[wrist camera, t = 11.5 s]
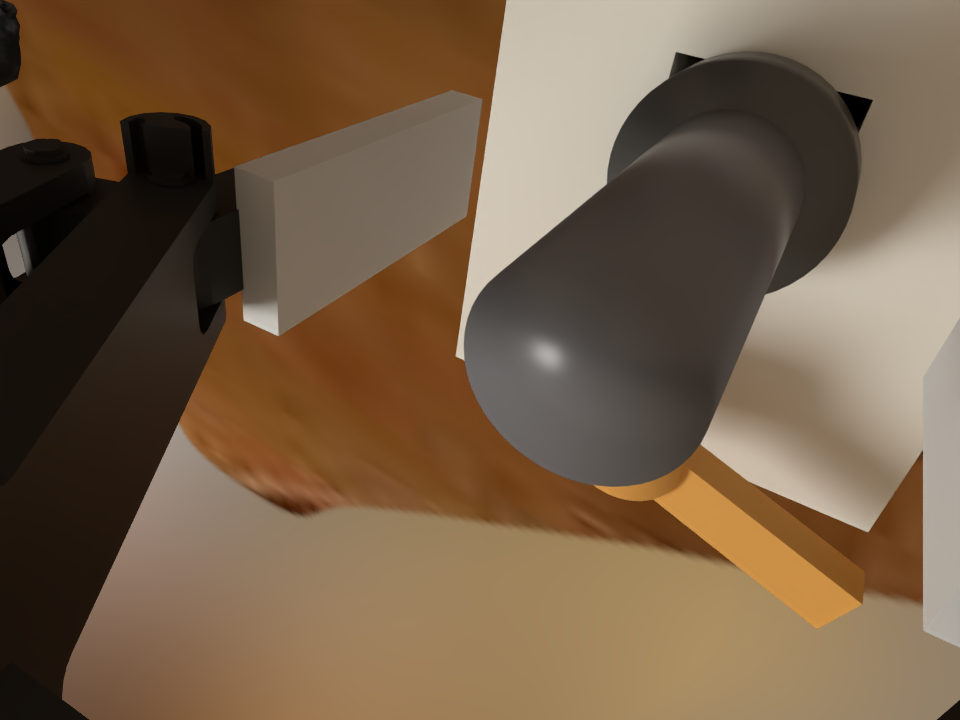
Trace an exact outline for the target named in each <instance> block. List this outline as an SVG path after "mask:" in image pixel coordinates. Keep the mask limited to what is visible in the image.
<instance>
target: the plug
mask: <svg viewBox="0 0 960 720" xmlns="http://www.w3.org/2000/svg"><path fill="white" fill-rule="evenodd" d="M861 161H862V159H861V144H860V140H859V135H858V131H857V127H856V125H855V122H854V119H853V117H852V114H851V112H850V111H849V109H848V107H847V105H846V104H845V102H844V100H843V99H842V97H841V96H840V95H839V94H838V92H837V91H836V90H835V89H834V88H833V86H832V85H830V84H829V83H828V82H827V81H826V80H825V79H824V78H823V77H822V76H821V75H819V74H818V73H816V72H815V71H813V70H812V69H810V68H809V67H807V66H805V65H803V64H801V63H799V62H797V61H795V60H792V59H790V58H786V57H783V56H780V55H777V54H771V53H765V52H749V51H742V52H733V53H725V54H721V55H717V56H713V57H710V58H707V59H705V60H702V61H700V62H697V63H695V64H693V65H691V66H689V67H688V68H686V69H684V70H682V71H680V72H679V73H677V74H675V75H674V76H672V77H671V78H669V79H667V80H666V81H664V82H663V83H661V84H660V85H659V86H657V87H656V88H655V89H653V90H652V91H651V92H650V93H648V94H647V95H646V96H645V97H644V98H643V99H642V100H641V101H640V102H639V103H638V104H637V106H636V107H635V108H634V109H633V110H632V112H631V113H630V114H629V116H628V117H627V119H626V120H625V122H624V124H623V125H622V127H621V129H620V131H619V133H618V135H617V137H616V140H615V142H614V145H613V148H612V151H611V155H610V159H609V165H608V170H607V184H606V185H605V186H604V187H603V188H601V189H600V190H599V191H598V192H597V193H595V194H594V195H593V196H592V197H591V198H589V199H588V200H587V201H586V202H585V203H583V204H582V205H581V206H580V207H578V208H577V209H576V210H575V211H574V212H572V213H571V214H570V215H569V216H568V217H566V218H565V219H564V220H563V221H561V222H560V223H559V224H558V225H557V226H555V227H554V228H553V229H552V230H551V231H549V232H548V233H547V234H546V235H544V236H543V237H542V238H541V239H540V240H538V241H537V242H536V243H535V244H534V245H532V246H531V247H530V248H529V249H528V250H526V251H525V252H524V253H523V254H521V255H520V256H519V257H518V258H517V259H515V260H514V261H513V262H512V263H511V264H509V265H508V266H507V267H506V268H504V269H503V270H502V271H501V272H500V273H498V274H497V275H496V276H495V277H494V278H493V279H492V280H491V281H489V282H488V283H487V285H486V286H485V287H484V288H483V290H482V291H481V292H480V293H479V295H478V297H477V298H476V300H475V302H474V303H473V305H472V308H471V310H470V313H469V316H468V318H467V323H466V327H465V333H464V360H465V365H466V370H467V375H468V378H469V381H470V384H471V387H472V390H473V392H474V394H475V396H476V399H477V401H478V403H479V404H480V406H481V408H482V410H483V411H484V413H485V415H486V416H487V417H488V419H489V420H490V422H491V423H492V424H493V426H494V427H495V428H496V429H497V430H498V431H499V433H500V434H501V435H502V436H503V437H504V438H505V439H506V440H507V441H508V442H509V443H510V444H511V445H512V446H513V447H514V448H516V449H517V450H518V451H519V452H521V453H522V454H523V455H524V456H526V457H527V458H529V459H530V460H532V461H533V462H535V463H536V464H538V465H539V466H541V467H543V468H545V469H547V470H549V471H551V472H553V473H555V474H558V475H560V476H563V477H565V478H568V479H571V480H574V481H578V482H581V483H585V484H591V485H596V486H608V487H622V486H632V485H638V484H643V483H647V482H650V481H653V480H656V479H658V478H661V477H663V476H665V475H667V474H669V473H671V472H672V471H674V470H675V469H677V468H678V467H680V466H681V465H682V464H683V463H684V462H685V461H686V460H687V459H689V458H690V457H691V456H692V454H693V453H694V452H695V451H696V449H697V448H698V447H699V445H700V444H701V442H702V440H703V438H704V436H705V434H706V432H707V431H708V428H709V426H710V423H711V421H712V419H713V416H714V414H715V412H716V409H717V407H718V405H719V402H720V400H721V398H722V395H723V393H724V391H725V388H726V386H727V383H728V381H729V379H730V376H731V374H732V372H733V369H734V367H735V365H736V362H737V360H738V358H739V355H740V353H741V351H742V348H743V346H744V344H745V341H746V339H747V336H748V334H749V332H750V329H751V327H752V325H753V322H754V320H755V318H756V315H757V313H758V311H759V308H760V306H761V304H762V301H763V299H764V297H765V295H766V294H769V293H772V292H775V291H778V290H780V289H782V288H784V287H786V286H789V285H791V284H792V283H794V282H796V281H797V280H799V279H801V278H802V277H804V276H805V275H806V274H808V273H809V272H810V271H811V270H813V269H814V268H815V267H816V266H817V265H818V264H819V263H820V262H821V261H822V260H823V259H824V258H825V257H826V256H827V255H828V254H829V253H830V251H831V250H832V249H833V247H834V246H835V245H836V243H837V242H838V240H839V238H840V237H841V235H842V233H843V231H844V229H845V228H846V225H847V223H848V220H849V217H850V215H851V212H852V209H853V205H854V201H855V197H856V193H857V189H858V184H859V180H860V174H861Z"/></svg>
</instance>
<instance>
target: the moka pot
mask: <svg viewBox="0 0 960 720" xmlns="http://www.w3.org/2000/svg"><path fill="white" fill-rule="evenodd" d="M16 14H17V9H16V8H15V6H14V5H13V4H11V3H9V2H6V1H3V0H0V87H1V86H4V85H6V84H8V83H10V82H12V81H14V80H16V79H18V75H19V70H20V66H21V53H20V46H19V38H20V37H19V29H20V25H19V22H18V20H17V18H16Z"/></svg>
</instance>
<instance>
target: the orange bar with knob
mask: <svg viewBox="0 0 960 720" xmlns="http://www.w3.org/2000/svg"><path fill="white" fill-rule="evenodd" d="M594 486H596V485H594ZM596 487H597V488H598V489H600V490H602V491H603V492H605V493H607V494H609V495H612V496H614V497H617V498H621V499H625V500H631V501H647V500H652V499H653V500H655V501H656V502H657V503H658V504H660V505H661V506H662V507H663V508H665V509H666V510H667V511H668V512H670V513H671V514H672V515H673V516H675V517H676V518H677V519H679V520H680V521H681V522H682V523H684V524H685V525H686V526H687V527H689V528H690V529H691V530H692V531H694V532H695V533H696V534H697V535H699V536H700V537H701V538H702V539H704V540H705V541H706V542H708V543H709V544H710V545H711V546H713V547H714V548H715V549H716V550H718V551H719V552H720V553H721V554H723V555H724V556H725V557H726V558H728V559H729V560H730V561H732V562H733V563H734V564H735V565H737V566H738V567H739V568H740V569H742V570H743V571H744V572H745V573H747V574H748V575H749V576H750V577H752V578H753V579H754V580H755V581H757V582H758V583H759V584H761V585H762V586H763V587H764V588H766V589H767V590H768V591H769V592H771V593H772V594H773V595H774V596H776V597H777V598H778V599H779V600H781V601H782V602H783V603H784V604H786V605H787V606H788V607H790V608H791V609H792V610H793V611H795V612H796V613H797V614H798V615H800V616H801V617H802V618H803V619H805V620H806V621H807V622H808V623H810V624H811V625H812V626H814V627H815V628H816V629H818V628H820V627H822V626H824V625H826V624H827V623H829V622H831V621H833V620H835V619H836V618H838V617H840V616H842V615H844V614H846V613H847V612H849V611H851V610H853V609H855V608H856V607H858V606H860V605H862V602H863V591H864V579H865V572H864V571H863V570H862V569H860V568H859V567H858V566H857V565H855V564H854V563H853V562H851V561H850V560H849V559H848V558H846V557H845V556H844V555H842V554H841V553H840V552H838V551H837V550H836V549H835V548H833V547H832V546H831V545H829V544H828V543H827V542H826V541H824V540H823V539H822V538H820V537H819V536H818V535H817V534H815V533H814V532H813V531H811V530H810V529H809V528H808V527H806V526H805V525H804V524H802V523H801V522H800V521H799V520H797V519H796V518H795V517H793V516H792V515H791V514H790V513H788V512H787V511H786V510H784V509H783V508H782V507H781V506H779V505H778V504H777V503H775V502H774V501H773V500H771V499H770V498H769V497H768V496H766V495H765V494H764V493H762V492H761V491H760V490H759V489H757V488H756V487H755V486H753V485H752V484H751V483H750V482H748V481H747V480H746V479H744V478H743V477H742V476H741V475H739V474H738V473H737V472H735V471H734V470H733V469H732V468H730V467H729V466H728V465H726V464H725V463H724V462H723V461H721V460H720V459H719V458H717V457H716V456H715V455H714V454H712V453H711V452H710V451H708V450H707V449H706V448H704V447H703V446H702V445H701V444H700V445H699V447H698V448H697V449H696V451H695V452H694V453H693V454H692V456H691V457H690V458H689V459H687V460H686V461H685V462H684V463H683V464H682V465H681V466H680V467H678V468H677V469H675V470H674V471H672V472H671V473H669V474H667V475H665V476H663V477H661V478H658V479H656V480H653V481H650V482H647V483H643V484H638V485H632V486H622V487H608V486H596Z"/></svg>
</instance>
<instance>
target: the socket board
mask: <svg viewBox="0 0 960 720" xmlns="http://www.w3.org/2000/svg"><path fill="white" fill-rule="evenodd" d="M742 51H749V52H765V53H771V54H777V55H780V56H783V57H786V58H790V59H792V60H795V61H797V62H799V63H801V64H803V65H805V66H807V67H809V68H810V69H812V70H813V71H815V72H816V73H818V74H819V75H821V76H822V77H823V78H824V79H825V80H826V81H827V82H828V83H829V84H830V85H832V86H833V88H834V89H835V90H836V91H838V92H842V93H846V94H851V95H855V96H859V97H863V98H867V99H869V101H868V103H867V106H866V108H865V110H864V113H863V115H862V117H861V119H860V122H859V124H858V126H857V131H858V135H859V140H860V144H861V159H862V161H861V174H860V180H859V184H858V189H857V193H856V197H855V201H854V205H853V209H852V212H851V215H850V217H849V220H848V223H847V225H846V228H845V229H844V231H843V233H842V235H841V237H840V238H839V240H838V242H837V243H836V245H835V246H834V247H833V249H832V250H831V251H830V253H829V254H828V255H827V256H826V257H825V258H824V259H823V260H822V261H821V262H820V263H819V264H818V265H817V266H816V267H815V268H814V269H813V270H811V271H810V272H809V273H808V274H806V275H805V276H804V277H802V278H801V279H799V280H797V281H796V282H794V283H792V284H791V285H789V286H786V287H784V288H782V289H780V290H778V291H775V292H772V293H769V294H766V295H765V297H764V299H763V301H762V304H761V306H760V308H759V311H758V313H757V315H756V318H755V320H754V322H753V325H752V327H751V329H750V332H749V334H748V336H747V339H746V341H745V344H744V346H743V348H742V351H741V353H740V355H739V358H738V360H737V362H736V365H735V367H734V369H733V372H732V374H731V376H730V379H729V381H728V383H727V386H726V388H725V391H724V393H723V395H722V398H721V400H720V402H719V405H718V407H717V409H716V412H715V414H714V416H713V419H712V421H711V423H710V426H709V428H708V431H707V432H706V434H705V436H704V438H703V440H702V442H701V445H702V446H703V447H704V448H706V449H707V450H708V451H710V452H711V453H712V454H714V455H715V456H716V457H717V458H719V459H720V460H721V461H723V462H724V463H725V464H726V465H728V466H729V467H730V468H732V469H733V470H734V471H735V472H737V473H738V474H739V475H741V476H742V477H743V478H744V479H746V480H747V481H749V482H751V483H753V484H756V485H758V486H761V487H763V488H765V489H768V490H770V491H772V492H775V493H777V494H779V495H782V496H784V497H786V498H789V499H791V500H793V501H796V502H798V503H800V504H803V505H805V506H807V507H810V508H812V509H814V510H817V511H819V512H822V513H824V514H826V515H829V516H831V517H833V518H836V519H838V520H840V521H843V522H845V523H847V524H850V525H852V526H854V527H857V528H859V529H861V530H864V531H866V532H869V530H870V529H871V527H872V526H873V524H874V523H875V521H876V520H877V518H878V517H879V515H880V514H881V512H882V511H883V509H884V508H885V506H886V505H887V503H888V502H889V500H890V498H891V497H892V495H893V494H894V492H895V491H896V489H897V488H898V486H899V485H900V483H901V482H902V480H903V479H904V477H905V476H906V474H907V473H908V471H909V470H910V468H911V467H912V465H913V464H914V462H915V461H916V459H917V458H918V456H919V455H920V453H921V452H922V450H923V377H924V375H925V373H926V372H927V370H928V368H929V367H930V365H931V364H932V362H933V360H934V359H935V357H936V355H937V354H938V352H939V351H940V349H941V347H942V346H943V344H944V342H945V341H946V339H947V338H948V336H949V334H950V333H951V331H952V329H953V328H954V326H955V325H956V323H957V321H958V320H959V318H960V0H507V2H506V9H505V16H504V23H503V30H502V37H501V44H500V51H499V58H498V65H497V72H496V79H495V86H494V93H493V100H492V107H491V114H490V121H489V128H488V135H487V142H486V149H485V156H484V163H483V170H482V177H481V184H480V191H479V198H478V205H477V212H476V219H475V226H474V233H473V240H472V247H471V254H470V261H469V268H468V275H467V282H466V289H465V296H464V303H463V310H462V317H461V324H460V331H459V338H458V345H457V352H456V357H458V358H460V359H463V360H464V333H465V327H466V323H467V318H468V316H469V313H470V310H471V308H472V305H473V303H474V302H475V300H476V298H477V297H478V295H479V293H480V292H481V291H482V290H483V288H484V287H485V286H486V285H487V283H488V282H489V281H491V280H492V279H493V278H494V277H495V276H496V275H497V274H498V273H500V272H501V271H502V270H503V269H504V268H506V267H507V266H508V265H509V264H511V263H512V262H513V261H514V260H515V259H517V258H518V257H519V256H520V255H521V254H523V253H524V252H525V251H526V250H528V249H529V248H530V247H531V246H532V245H534V244H535V243H536V242H537V241H538V240H540V239H541V238H542V237H543V236H544V235H546V234H547V233H548V232H549V231H551V230H552V229H553V228H554V227H555V226H557V225H558V224H559V223H560V222H561V221H563V220H564V219H565V218H566V217H568V216H569V215H570V214H571V213H572V212H574V211H575V210H576V209H577V208H578V207H580V206H581V205H582V204H583V203H585V202H586V201H587V200H588V199H589V198H591V197H592V196H593V195H594V194H595V193H597V192H598V191H599V190H600V189H601V188H603V187H604V186H605V185H606V184H607V170H608V165H609V159H610V155H611V151H612V148H613V145H614V142H615V140H616V137H617V135H618V133H619V131H620V129H621V127H622V125H623V124H624V122H625V120H626V119H627V117H628V116H629V114H630V113H631V112H632V110H633V109H634V108H635V107H636V106H637V104H638V103H639V102H640V101H641V100H642V99H643V98H644V97H645V96H646V95H647V94H648V93H650V92H651V91H652V90H653V89H655V88H656V87H657V86H659V85H660V84H661V83H663V82H664V81H666V80H667V79H669V78H671V77H672V76H674V75H675V74H677V73H679V72H680V71H682V70H684V69H686V68H688V67H689V66H691V65H693V64H695V63H697V62H700V61H702V60H704V59H707V58H710V57H713V56H717V55H721V54H725V53H733V52H742Z"/></svg>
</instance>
